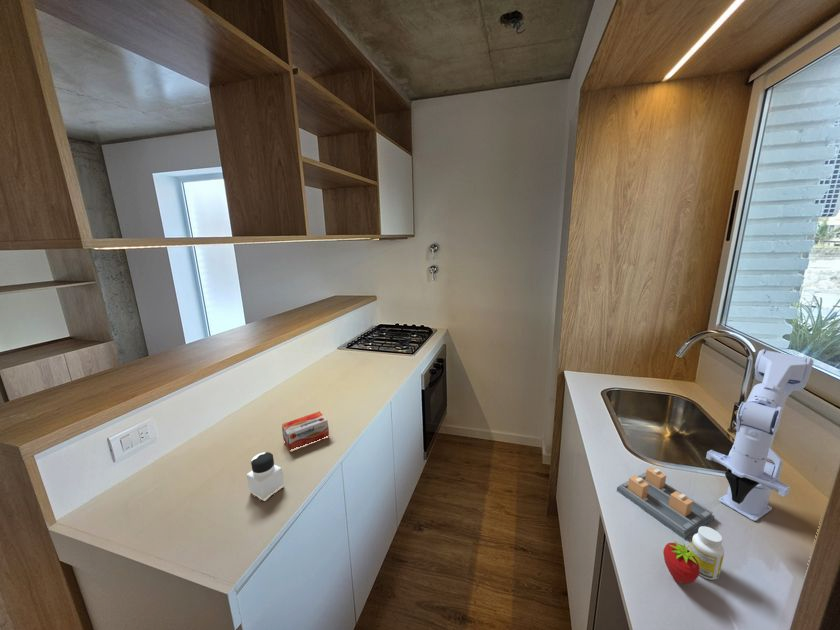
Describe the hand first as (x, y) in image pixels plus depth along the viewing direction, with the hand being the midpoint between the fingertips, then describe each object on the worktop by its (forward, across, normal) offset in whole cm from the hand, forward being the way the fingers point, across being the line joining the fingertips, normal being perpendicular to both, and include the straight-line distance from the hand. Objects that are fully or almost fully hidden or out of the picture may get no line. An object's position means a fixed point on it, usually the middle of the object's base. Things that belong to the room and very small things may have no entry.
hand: (737, 500), depth 81 cm
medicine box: (+12, -91, -91) cm, 129 cm away
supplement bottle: (+11, +2, -15) cm, 19 cm away
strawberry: (+11, +1, -23) cm, 26 cm away
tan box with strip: (+9, -9, -4) cm, 13 cm away
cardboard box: (+9, -18, 0) cm, 20 cm away
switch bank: (+10, -13, -4) cm, 17 cm away
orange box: (+9, -18, -8) cm, 22 cm away
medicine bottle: (+12, -69, -105) cm, 127 cm away
